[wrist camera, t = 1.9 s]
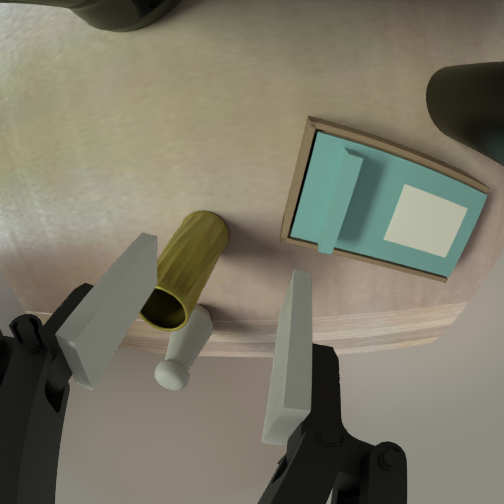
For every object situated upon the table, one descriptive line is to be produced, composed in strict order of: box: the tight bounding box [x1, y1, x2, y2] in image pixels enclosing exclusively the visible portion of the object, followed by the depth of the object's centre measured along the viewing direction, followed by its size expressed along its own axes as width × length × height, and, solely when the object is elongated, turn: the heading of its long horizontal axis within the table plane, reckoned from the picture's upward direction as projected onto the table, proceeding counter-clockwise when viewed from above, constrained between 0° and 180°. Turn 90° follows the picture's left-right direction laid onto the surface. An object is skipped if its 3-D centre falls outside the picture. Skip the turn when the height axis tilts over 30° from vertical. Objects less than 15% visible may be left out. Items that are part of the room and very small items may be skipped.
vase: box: [139, 211, 229, 332], centre depth 30 cm, size 6×6×14 cm
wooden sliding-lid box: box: [280, 116, 490, 283], centre depth 28 cm, size 12×20×5 cm, turn 80°
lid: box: [291, 131, 488, 277], centre depth 25 cm, size 10×19×4 cm, turn 80°
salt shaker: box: [155, 304, 213, 390], centre depth 38 cm, size 6×6×13 cm
